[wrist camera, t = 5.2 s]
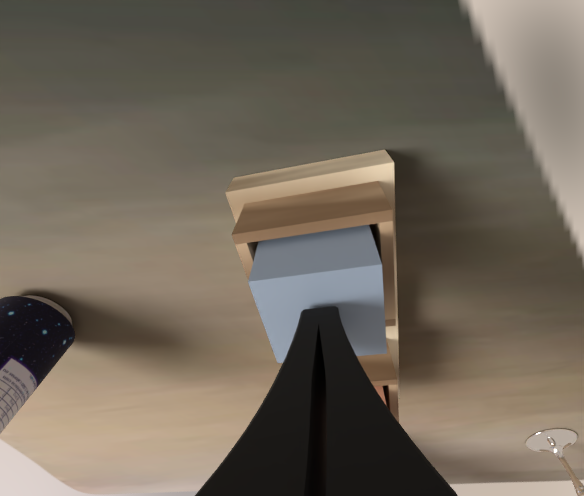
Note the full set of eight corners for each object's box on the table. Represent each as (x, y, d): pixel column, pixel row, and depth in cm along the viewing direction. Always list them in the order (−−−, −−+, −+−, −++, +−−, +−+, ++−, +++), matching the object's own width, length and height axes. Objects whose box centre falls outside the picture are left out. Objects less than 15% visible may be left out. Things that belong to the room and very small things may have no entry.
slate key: (374, 303, 16) (387, 353, 13) (282, 314, 16) (277, 363, 14) (368, 222, 13) (381, 264, 10) (259, 238, 14) (248, 281, 11)
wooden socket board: (393, 375, 26) (410, 440, 21) (299, 383, 27) (297, 445, 23) (385, 149, 15) (412, 188, 11) (233, 177, 17) (208, 221, 12)
